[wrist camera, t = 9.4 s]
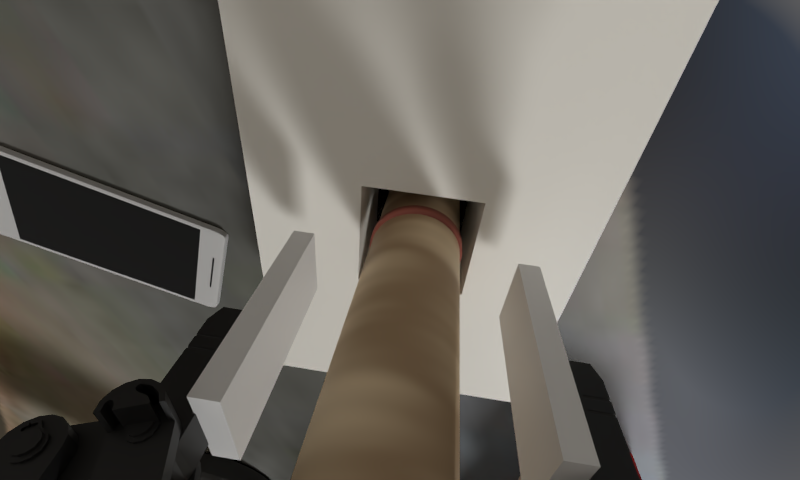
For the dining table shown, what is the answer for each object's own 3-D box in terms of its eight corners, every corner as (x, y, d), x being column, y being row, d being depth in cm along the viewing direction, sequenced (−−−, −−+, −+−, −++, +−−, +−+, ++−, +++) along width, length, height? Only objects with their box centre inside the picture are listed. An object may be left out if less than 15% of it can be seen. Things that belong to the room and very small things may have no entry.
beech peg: (387, 215, 21) (264, 607, 8) (393, 151, 19) (234, 547, 5) (454, 225, 20) (445, 646, 7) (468, 162, 18) (489, 599, 5)
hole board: (305, 303, 26) (277, 364, 22) (275, -68, 14) (203, -89, 10) (506, 334, 25) (516, 403, 21) (649, -27, 13) (734, -31, 9)
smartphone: (-29, 129, 21) (-47, 135, 21) (232, 228, 23) (224, 236, 22) (2, 223, 25) (-12, 231, 25) (222, 301, 27) (215, 310, 26)
